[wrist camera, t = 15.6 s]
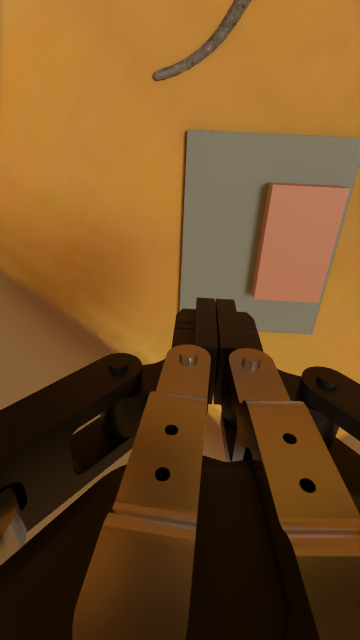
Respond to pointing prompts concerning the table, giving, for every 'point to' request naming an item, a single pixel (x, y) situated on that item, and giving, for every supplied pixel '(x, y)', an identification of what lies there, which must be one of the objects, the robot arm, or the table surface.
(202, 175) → the mat
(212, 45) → the pliers
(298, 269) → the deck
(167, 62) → the table surface
